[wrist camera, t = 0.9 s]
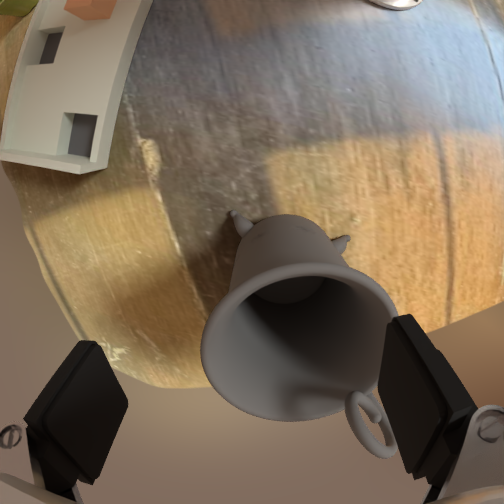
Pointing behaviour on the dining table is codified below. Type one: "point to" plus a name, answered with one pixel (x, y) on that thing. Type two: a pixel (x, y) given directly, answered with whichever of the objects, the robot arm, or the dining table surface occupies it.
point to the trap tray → (69, 86)
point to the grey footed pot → (299, 330)
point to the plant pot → (16, 7)
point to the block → (90, 8)
